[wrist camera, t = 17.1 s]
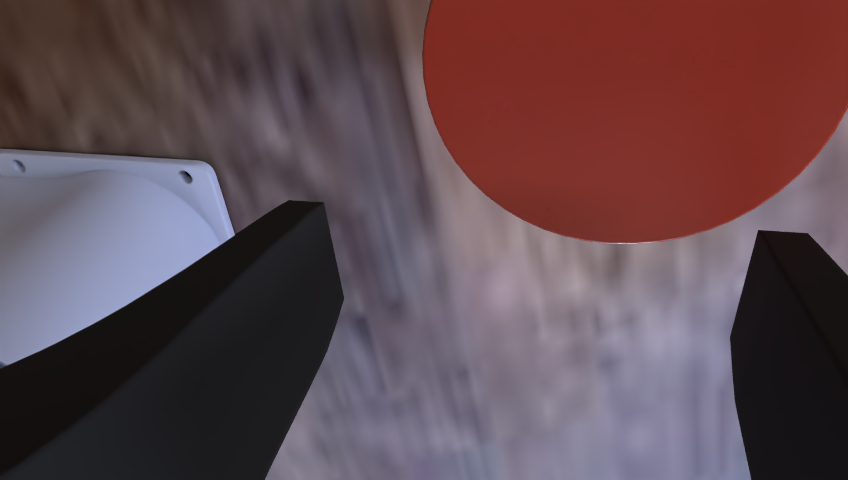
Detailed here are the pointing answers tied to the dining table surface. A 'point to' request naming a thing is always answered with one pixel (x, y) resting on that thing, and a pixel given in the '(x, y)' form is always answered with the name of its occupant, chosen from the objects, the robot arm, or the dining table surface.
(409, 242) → the dining table surface
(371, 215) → the dining table surface
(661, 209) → the jar lid
